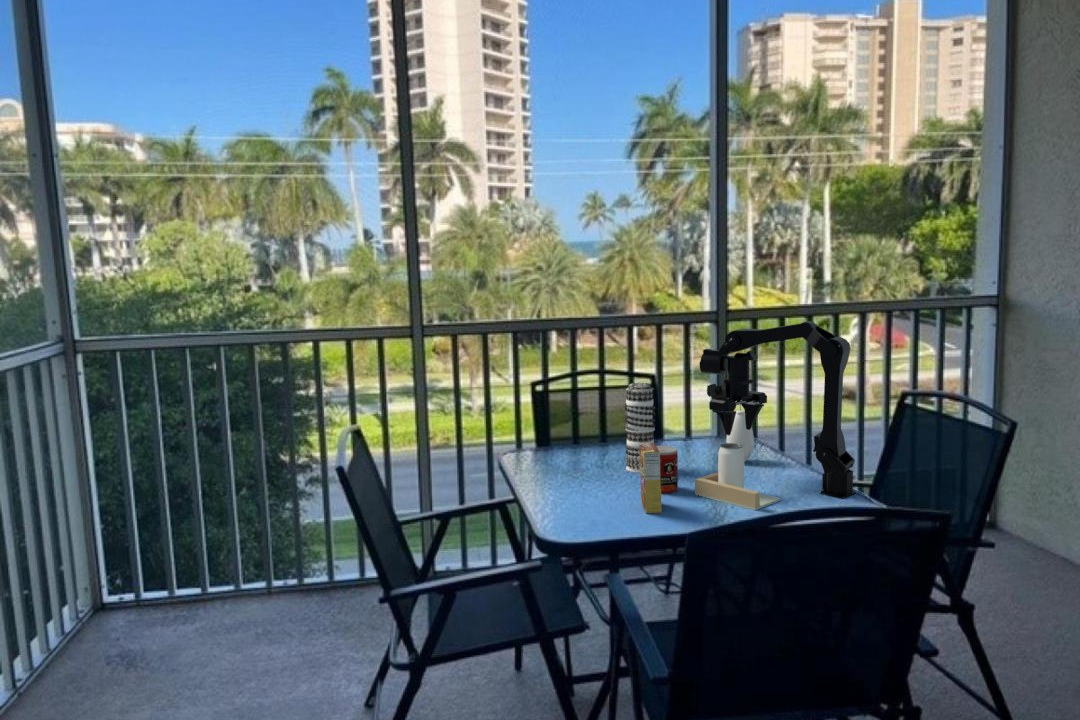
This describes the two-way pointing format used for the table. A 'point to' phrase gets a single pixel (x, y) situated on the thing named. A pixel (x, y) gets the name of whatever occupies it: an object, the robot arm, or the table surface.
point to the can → (731, 464)
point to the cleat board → (731, 493)
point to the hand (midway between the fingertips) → (738, 432)
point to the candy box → (650, 478)
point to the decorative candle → (638, 422)
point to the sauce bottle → (741, 434)
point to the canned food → (668, 468)
